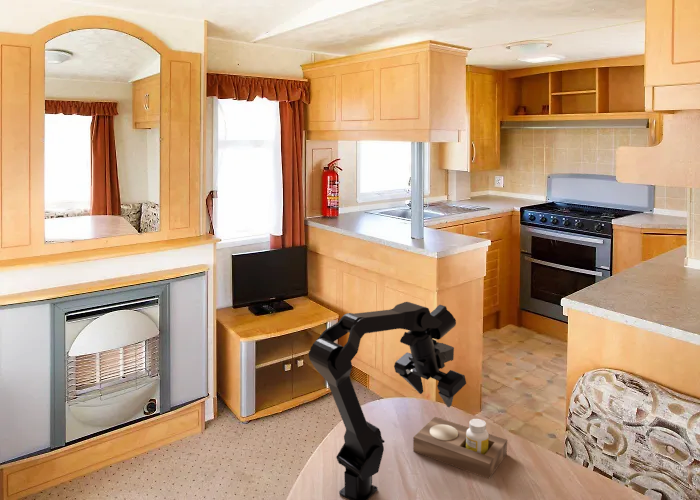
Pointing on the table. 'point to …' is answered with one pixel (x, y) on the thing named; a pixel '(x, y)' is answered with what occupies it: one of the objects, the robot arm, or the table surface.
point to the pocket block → (458, 447)
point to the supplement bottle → (477, 436)
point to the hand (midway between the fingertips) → (435, 399)
